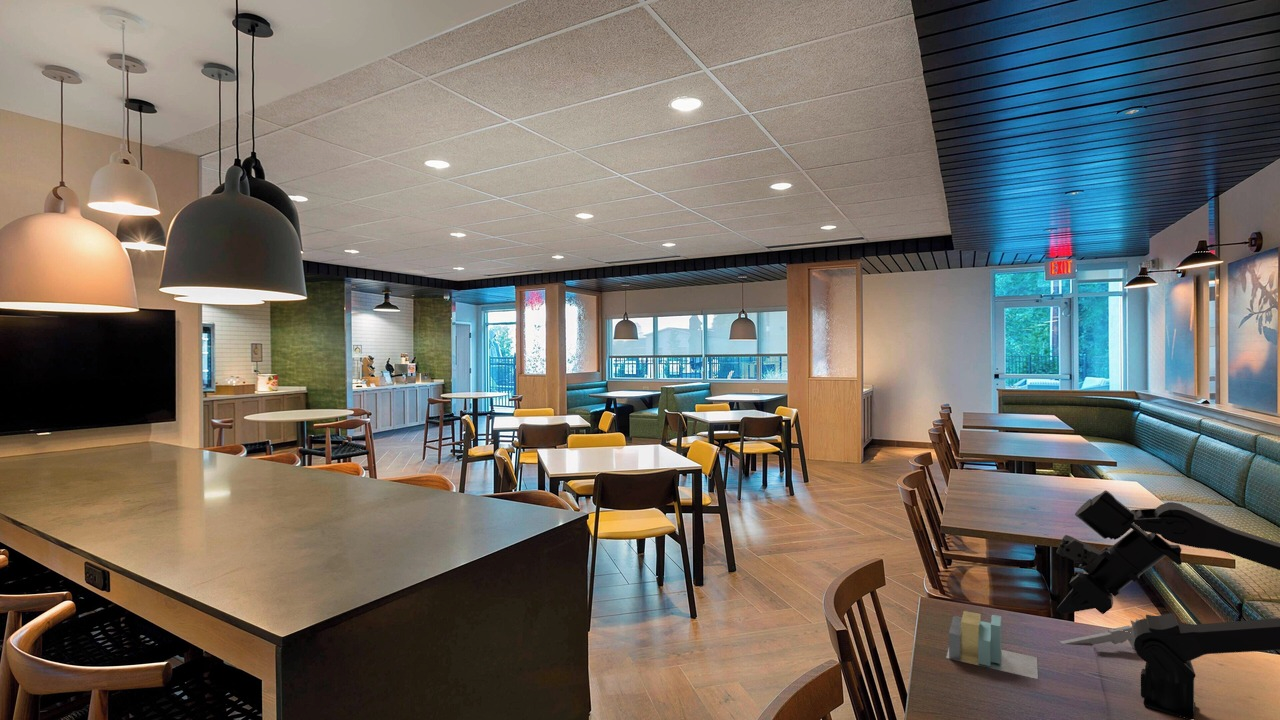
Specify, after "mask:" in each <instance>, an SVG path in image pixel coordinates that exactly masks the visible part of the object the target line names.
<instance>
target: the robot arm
mask: <svg viewBox="0 0 1280 720" xmlns="http://www.w3.org/2000/svg"><path fill="white" fill-rule="evenodd" d="M1074 516H1075V517H1076V518H1078V519H1079V520H1081V521H1082V522H1083V523H1084V524H1085V525H1086V526H1088V527H1089V528H1090V529H1091V530H1093V531H1094V532H1095V533H1096V534H1098V535H1099V536H1100V537H1102V539H1108V538H1109V539H1110V540H1114V541H1115V540H1118V539H1119V540H1118V541H1116V543H1114V544H1113V545H1112V546H1109V547H1107V546H1106V547H1104V548H1103V549H1101V550H1099V549H1097V548H1095V547H1094V546H1092V545H1090V544H1088V543H1086V542H1083V541H1082V540H1079V539H1077V538H1075V537H1074V536H1071V535H1067V534H1065V535H1064V536H1063V537H1062V538H1061V541H1060V543H1059V544H1058V545H1059V546H1058V547H1057V549H1056V552H1055V553H1056V554H1057V555H1059V556H1061V557H1063V558H1067V559H1069V560H1071V561H1074V562H1076V563H1077V564H1079V565H1078V568H1079V569H1080V570H1083V572H1082V573H1081V572H1077V571H1074V573H1073V575H1072V577H1071V579H1070V582H1069V585H1070V586H1071V588H1072V589H1071V590H1070V591H1069V592H1068V593H1067V595H1066V596H1065V597H1064V599H1063V600H1062V601H1061V602H1060V603H1059V605H1058V606H1057V608H1056V611H1057V612H1058V613H1059V614H1060V615H1066V614H1071V613H1075V612H1082V611H1086V610H1092V609H1093V610H1094V609H1095V610H1097V611H1098V612H1099V613H1100V614H1102V615H1104V614H1106V613H1107V612H1108V611H1110V610H1111V609H1113V605H1114V598H1113V597H1116V596H1118V595H1119V594H1120V592H1121V591H1122V589H1124V588H1125V587H1127V586H1129V584H1131V583H1132V582H1134V583H1135V582H1137V581H1138V580H1139V579H1140V576H1141V575H1143V574H1144V573H1145V572H1147V571H1148V570H1150V569H1151V568H1153V566H1154V565H1156V564H1158V563H1159V562H1160V561H1161V560H1163V559H1164V558H1166V557H1167V558H1168V559H1170V561H1172V562H1174V563H1175V564H1176V565H1178V566H1180V565H1182V563H1183V562H1182V558H1181V553H1182V548H1181V545H1182V546H1186V547H1187V546H1188V547H1190V548H1191V547H1192V548H1197V549H1203V550H1213V551H1219V552H1222V553H1223V552H1224V553H1227V554H1230V555H1234V556H1236V557H1239V558H1242V559H1245V560H1248V561H1250V562H1254V563H1256V564H1259V565H1263V566H1266V567H1269V568H1271V569H1275V570H1278V571H1280V542H1277V541H1274V540H1270V539H1268V538H1265V537H1262V536H1259V535H1255V534H1252V533H1249V532H1246V531H1242V530H1240V529H1236V528H1234V527H1230V526H1228V525H1225V524H1223V523H1221V522H1219V521H1217V520H1215V519H1213V518H1211V517H1210V516H1208V515H1205V514H1203V513H1201V512H1199V511H1197V510H1195V509H1193V508H1191V507H1188V506H1186V505H1184V504H1182V503H1178V502H1174V501H1173V502H1172V501H1171V502H1170V501H1169V502H1166V503H1165V502H1164V503H1162V504H1160V505H1159V506H1157V507H1155V508H1141V509H1140V508H1139V509H1129V508H1128V507H1127V506H1125V505H1124V504H1123V503H1122V502H1121V501H1119V500H1118V499H1117V498H1115V496H1114V495H1113V494H1112V493H1111V492H1109V491H1108V490H1103V491H1102V492H1101V493H1100V494H1098V495H1096V496H1094V497H1092V498H1090V499H1088V500H1087V501H1085V502H1084V503H1083V504H1082V505H1081V506H1080V507H1079V508H1078V509H1077V511H1076V512H1075V513H1074ZM1131 529H1132V530H1131ZM1129 530H1131V531H1129ZM1128 531H1129V532H1128ZM1126 533H1127V534H1126ZM1125 534H1126V535H1125ZM1159 535H1160V536H1161V537H1160V536H1159ZM1122 536H1123V537H1122ZM1121 537H1122V538H1121ZM1167 541H1168V542H1171V543H1172V544H1171V543H1168V542H1167ZM1132 636H1133V642H1134V647H1135V649H1134V651H1135V652H1136V654H1137V655H1138V656H1139V658H1141V660H1143V661H1144V662H1145V666H1144V668H1142V669H1141V672H1140V697H1141V698H1142V699H1143V706H1144V707H1146V708H1149V709H1153V710H1156V711H1158V712H1159V711H1160V712H1162V713H1166V714H1169V715H1173V716H1175V715H1176V717H1179V716H1181V717H1180V718H1182V717H1185V718H1188V719H1187V720H1189V719H1195V718H1196V717H1195V716H1196V702H1195V678H1196V676H1197V675H1196V673H1195V669H1194V666H1193V664H1192V663H1193V662H1192V661H1193V660H1196V659H1198V658H1200V657H1203V656H1205V655H1206V656H1207V655H1213V654H1214V655H1215V654H1216V655H1217V654H1230V653H1231V654H1232V653H1233V654H1236V653H1252V652H1253V653H1254V652H1268V651H1269V652H1270V651H1271V652H1272V651H1280V617H1277V618H1263V619H1251V620H1250V619H1249V620H1238V621H1235V620H1234V621H1226V622H1224V621H1223V622H1211V623H1209V622H1208V623H1197V624H1192V623H1187V622H1182V621H1178V620H1177V617H1176V614H1175V613H1173V612H1172V613H1166V614H1161V615H1153V614H1145V618H1142V619H1138V621H1137V622H1136V623H1135V624H1134V626H1133V628H1132ZM1185 718H1184V719H1185ZM1195 720H1196V719H1195Z"/></svg>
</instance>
